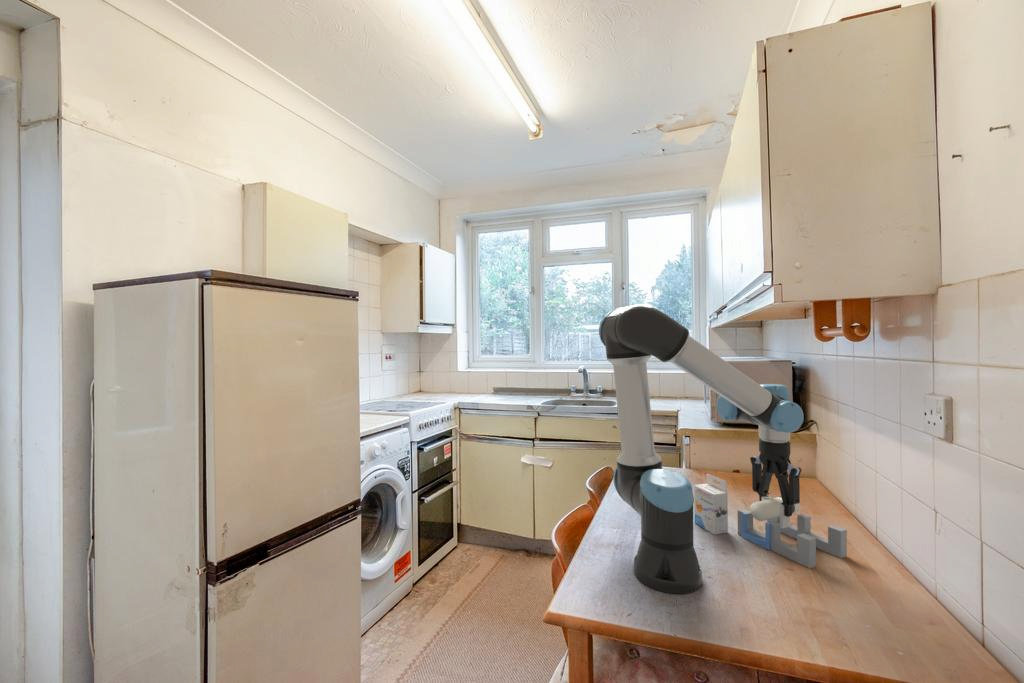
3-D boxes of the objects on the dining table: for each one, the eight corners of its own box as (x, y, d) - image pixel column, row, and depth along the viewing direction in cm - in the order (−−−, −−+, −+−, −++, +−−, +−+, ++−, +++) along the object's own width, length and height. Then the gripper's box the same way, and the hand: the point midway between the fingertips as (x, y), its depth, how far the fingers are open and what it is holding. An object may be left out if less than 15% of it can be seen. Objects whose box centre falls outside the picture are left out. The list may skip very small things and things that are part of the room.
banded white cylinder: (766, 524, 114) (766, 505, 114) (750, 517, 118) (750, 499, 118) (800, 515, 119) (800, 498, 119) (783, 509, 123) (783, 492, 123)
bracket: (807, 568, 103) (807, 540, 103) (736, 534, 121) (736, 510, 121) (848, 555, 108) (848, 529, 108) (774, 524, 127) (774, 502, 127)
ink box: (693, 523, 129) (693, 474, 129) (707, 520, 130) (706, 472, 130) (714, 535, 121) (714, 483, 121) (728, 532, 122) (728, 481, 122)
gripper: (816, 445, 112) (817, 533, 112) (754, 432, 128) (756, 509, 128) (797, 448, 109) (798, 539, 109) (736, 434, 125) (738, 513, 125)
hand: (775, 522), depth 118 cm, fingers closed on banded white cylinder, 5 cm apart
